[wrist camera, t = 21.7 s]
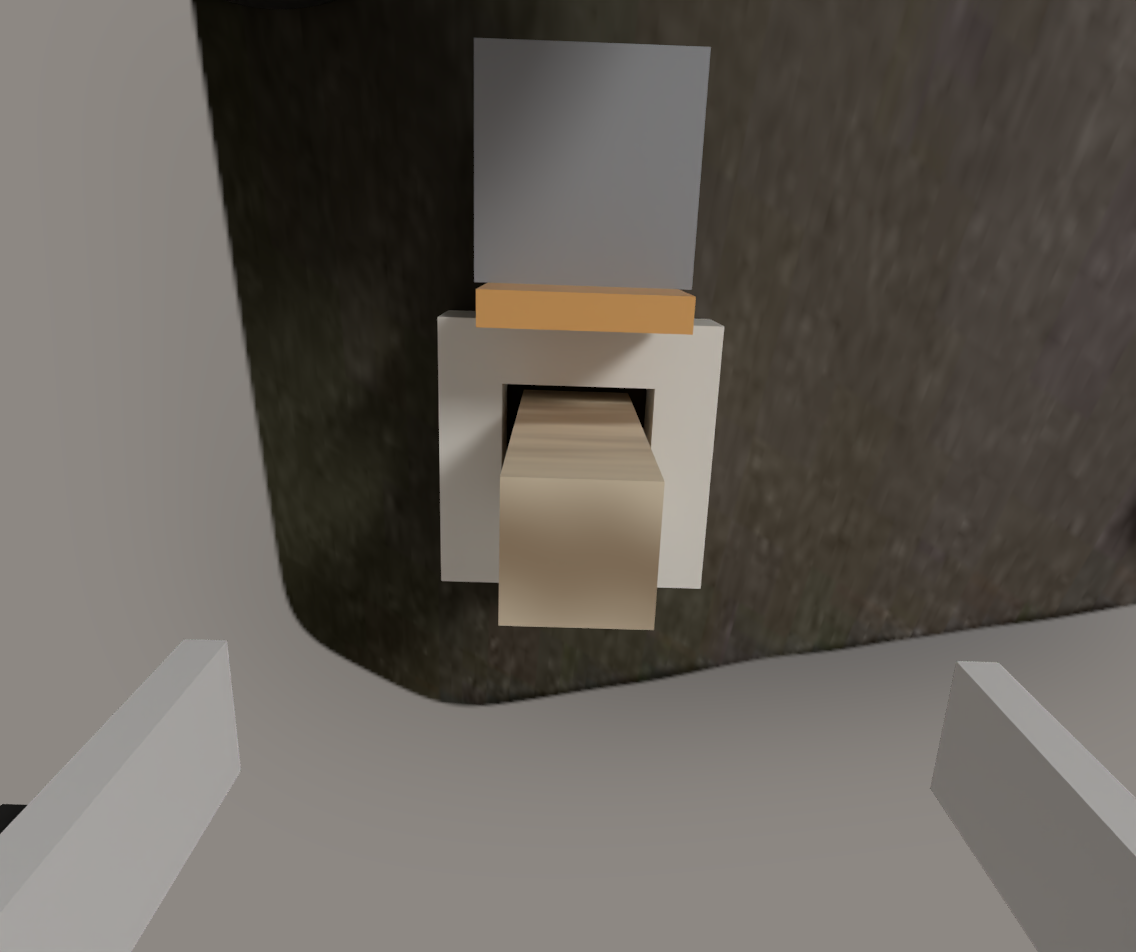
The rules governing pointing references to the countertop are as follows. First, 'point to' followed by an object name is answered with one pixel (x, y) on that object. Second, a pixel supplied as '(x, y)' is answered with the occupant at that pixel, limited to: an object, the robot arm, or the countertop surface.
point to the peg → (579, 514)
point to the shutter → (587, 184)
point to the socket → (572, 358)
